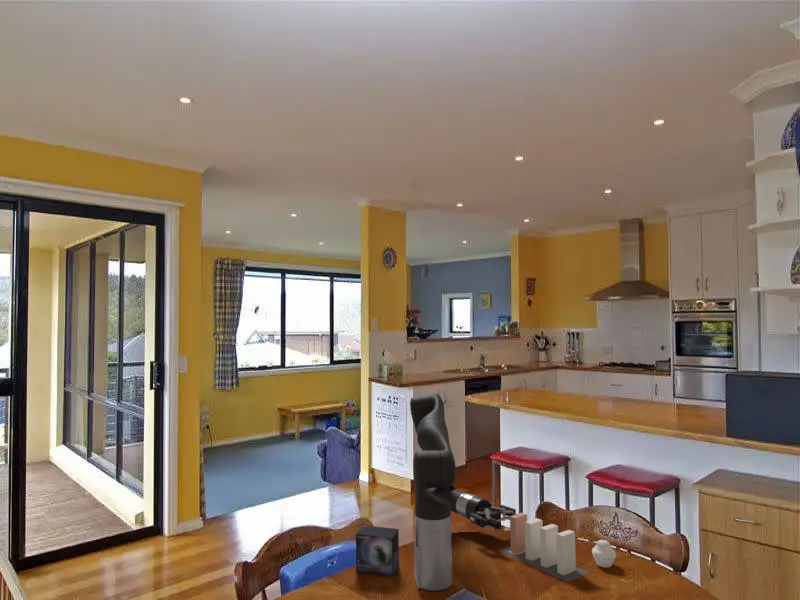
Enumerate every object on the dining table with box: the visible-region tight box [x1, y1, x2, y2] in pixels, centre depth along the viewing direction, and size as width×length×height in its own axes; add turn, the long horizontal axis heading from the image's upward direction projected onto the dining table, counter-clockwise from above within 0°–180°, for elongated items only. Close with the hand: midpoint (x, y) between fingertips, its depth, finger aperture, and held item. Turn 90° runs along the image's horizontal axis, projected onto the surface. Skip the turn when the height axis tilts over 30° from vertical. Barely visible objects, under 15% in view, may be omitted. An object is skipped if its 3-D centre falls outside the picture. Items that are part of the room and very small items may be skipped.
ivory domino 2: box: [540, 523, 559, 568], centre depth 150 cm, size 2×5×10 cm, turn 125°
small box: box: [355, 524, 400, 578], centre depth 149 cm, size 11×6×10 cm, turn 73°
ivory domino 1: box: [525, 517, 544, 561], centre depth 155 cm, size 2×5×10 cm, turn 125°
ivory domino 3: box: [556, 529, 577, 575], centre depth 146 cm, size 2×5×10 cm, turn 125°
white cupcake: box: [591, 539, 617, 568], centre depth 150 cm, size 6×6×7 cm
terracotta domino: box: [509, 512, 528, 554], centre depth 159 cm, size 2×5×10 cm, turn 126°
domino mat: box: [498, 545, 591, 583], centre depth 152 cm, size 24×9×1 cm, turn 35°
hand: (510, 522), depth 162 cm, fingers open, 8 cm apart
